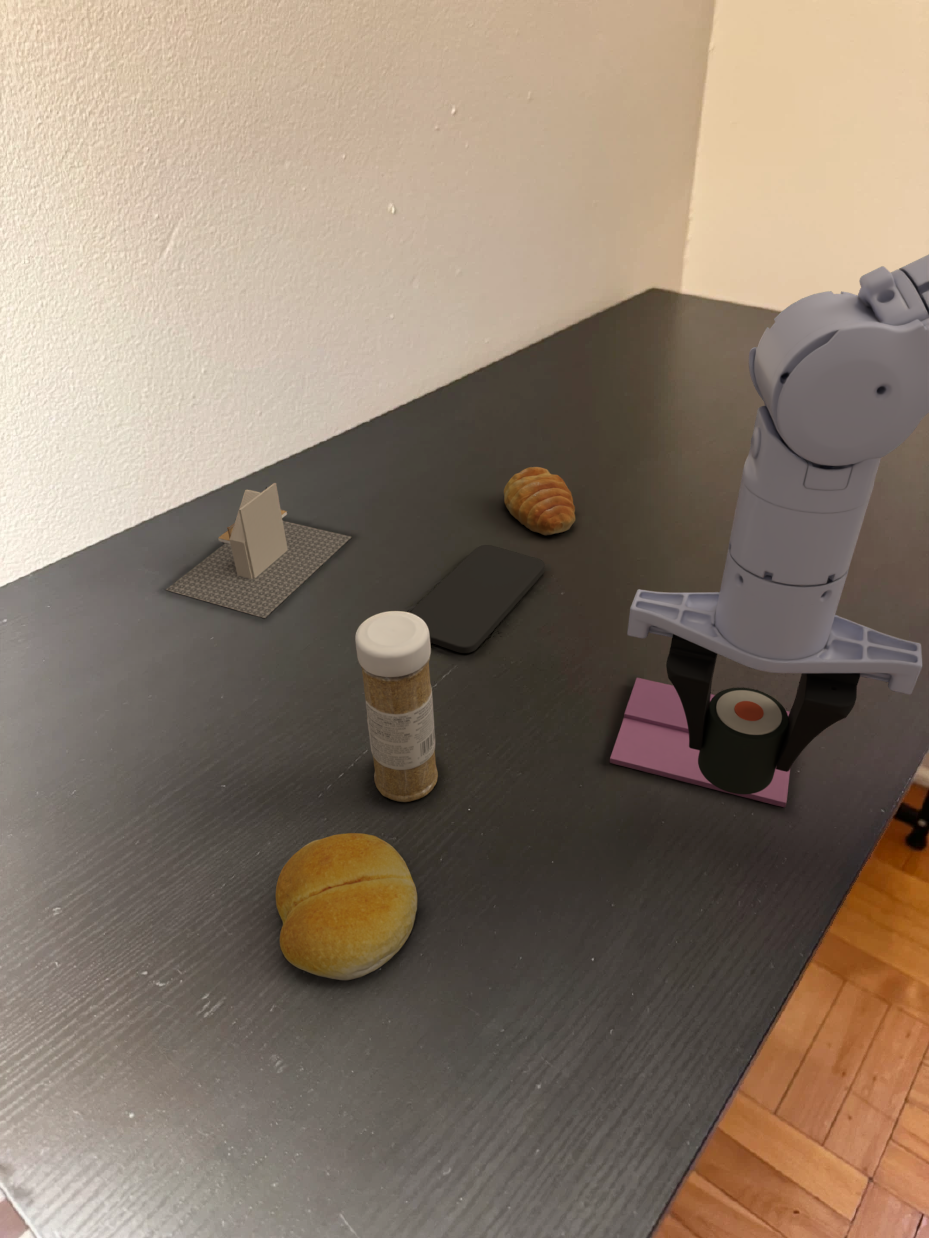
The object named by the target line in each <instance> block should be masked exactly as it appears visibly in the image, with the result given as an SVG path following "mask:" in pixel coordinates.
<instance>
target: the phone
mask: <svg viewBox="0 0 929 1238" xmlns="http://www.w3.org/2000/svg"><path fill="white" fill-rule="evenodd" d="M545 568H546V563H545V562H544V560H542V559H540V558H538V557H534V556H531V555H527V554H523V553H520V552H517V551H514V550H510V549H507V548H503V547H500V546H496V545H492V544H481V545H479V546H477V547H476V548H474V549H473V550H472V551H471V552H470V553H469V554H468V555H467V556H466V557H465V558H464V559H463V560H462V561H461V562H460V563H459V564H458V565H457V566H456V567H454V569H453V570H452V571H450V572H449V574H448V575H447V576H446V577H445V578H444V579H442V580H441V581H440V582H439V583H438V584H437V585H436V586H434V588H433V589H432V590H431V591H430V592H429V593H428V594H427V595H426V596H425V597H424V598H423V599H422V600H421V601H420V602H418V604H417V605H415V607H413V609H411V611H409V613H411V614H414V615H416V616H418V617H420V618H421V619H422V620H423V621H424V622H425V623H426V625H427V626H428V629H429V636H430V644H433V645H437V646H439V647H442V648H444V649H446V650H447V649H448V650H450V651H453V652H456V653H460V654H469V653H472V652H474V651H476V650H477V649H478V648H479V647H480V646H481V645H482V644H483V643H484V642H485V640H486V639H487V638H489V636H490V635H491V633H493V631H494V630H495V629H496V628H497V627H498V626H499V624H500V623H501V622H502V621H503V620H504V619H505V617H507V615H508V614H509V613H510V612H511V611H512V610H513V608H515V606H516V605H517V604H518V603H519V602H520V601H521V599H523V597H524V596H525V595H526V594H528V592H529V591H530V590H531V588H532V587H533V586H534V585H535V583H537V581H538V580H539V579H540V578H541V577H542V576H543V574H544V572H545V570H546V569H545Z"/></svg>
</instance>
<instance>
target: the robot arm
mask: <svg viewBox="0 0 929 1238" xmlns="http://www.w3.org/2000/svg"><path fill="white" fill-rule="evenodd" d="M858 282H859V286H860V288H859V290H858V293H857V294H855V293H853V292H848V291H840V293H834V292H833V291H832V290H830V291H829V290H828V291H821V292H818V293H813V294H809V295H807V296H804V297H802V298H800V299H799V300H796V301H794V302H792V303H791V304H790V305H788V306H787V307H786V308H784V309H783V310H782V311H781V312H779V313H778V314H777V315H776V316H775V317H774V318H773V321H774V323H773V324H772V325H771V327H768V326H767V327H766V328H765V330H764V331H763V333H762V335H761V337H760V339H759V341H758V343H757V346H754V347H752V348H751V349H750V350H749V353H748V371H749V376H750V379H751V382H752V384H753V387H754V389H755V391H756V393H757V394H758V396H759V397H760V399H761V401H762V402H763V404H764V405H761V406H760V407H758V408H757V411H756V416H755V421H754V424H753V425H754V426H753V431H752V435H751V438H750V446H749V452H748V454H747V457H746V459H745V462H744V465H743V468H742V473H741V479H740V485H739V489H738V490H739V491H738V493H737V494H738V495H737V498H736V499H737V500H736V504H735V510H734V516H733V521H732V526H731V531H730V535H729V541H728V549H727V551H726V552H727V553H726V558H725V563H724V568H723V573H722V579H721V584H720V588H719V592H718V591H715V592H713V591H712V592H711V591H710V592H704V591H703V592H663V591H653V590H646V589H640V588H639V589H637V590H636V592H635V595H634V598H633V600H632V603H631V605H630V607H629V615H628V623H627V632H626V635H627V636H629V637H633V638H637V639H646V638H648V636H649V634H653V635H659V636H663V637H667V638H671V641H670V647H669V651H668V655H667V659H666V662H665V663H666V664H665V667H666V674H667V678H668V680H669V681H670V683H671V685H672V686H674V688H675V689H676V691H677V693H678V695H679V698H680V700H681V703H682V705H683V708H684V712H685V716H686V720H687V725H688V731H689V747H690V748H691V749H695V750H699V751H701V746H702V742H703V737H704V731H705V723H706V717H707V712H708V707H709V703H710V696H711V694H712V685H713V678H714V673H715V669H716V664H717V659H718V655H719V656H721V657H723V658H726V659H728V660H731V661H733V662H735V663H737V664H739V665H741V666H743V667H747V668H750V669H753V670H756V671H760V672H765V673H771V674H801V675H800V678H799V682H798V686H797V690H796V694H795V697H794V700H793V704H792V706H791V709H790V711H789V712H790V713H789V716H788V718H789V723H788V727H787V731H786V734H785V738H784V741H783V744H782V747H781V750H780V754H779V757H778V761H777V765H776V769H777V770H781V771H785V772H788V771H789V770H790V771H791V768H792V766H793V765H794V763H795V761H796V760H797V759H798V757H799V756H800V754H801V753H802V752H803V751H804V750H805V749H806V748H807V747H808V745H810V743H811V742H812V741H813V740H814V739H815V738H817V737H818V736H819V735H820V734H821V733H823V732H824V731H825V730H827V729H828V728H829V727H831V726H833V725H834V724H836V723H838V722H840V721H841V720H844V719H846V718H847V717H848V716H849V714H850V713H851V712H852V710H853V709H854V706H855V704H856V701H857V699H858V697H857V695H858V684H859V681H860V678H865V679H870V680H875V681H880V682H885V683H887V687H888V689H889V690H890V691H892V692H895V693H900V694H905V695H910V696H911V695H912V694H913V691H914V689H915V686H916V684H917V681H918V679H919V676H920V674H921V672H922V669H923V654H922V653H923V652H922V644H921V642H916V641H912V640H906V639H903V638H901V637H896V636H893V635H889V634H887V633H884V632H881V631H878V630H876V629H873V628H870V627H868V626H865V625H863V624H860V623H858V622H855V621H853V620H850V619H847V618H845V617H843V616H840V615H837V611H838V608H839V604H840V600H841V597H842V593H843V590H844V587H845V583H846V581H847V577H848V574H849V570H850V566H851V562H852V559H853V556H854V553H855V550H856V547H857V546H856V545H857V543H858V540H859V537H860V533H861V529H862V527H863V523H864V519H865V517H866V513H867V509H868V507H869V503H870V500H871V497H872V495H873V490H874V487H875V481H876V477H877V474H878V470H879V467H880V465H881V464H880V463H881V460H882V459H883V458H884V457H886V456H888V455H889V454H891V453H892V452H893V451H895V450H897V448H899V447H900V446H901V445H902V444H903V443H904V442H905V441H907V439H909V437H910V436H912V434H913V433H914V431H915V430H916V429H917V427H918V426H919V425H920V423H921V422H922V420H923V419H924V418H925V417H926V416H927V415H928V414H929V253H928V254H925V256H922V257H920V258H918V259H916V260H914V261H911V262H910V263H908V264H906V265H904V266H902V267H900V268H899V267H898V269H894V270H893V271H890V270H889V269H888V268H887V267H885V266H883V265H882V266H879V267H877V268H875V269H873V270H871V271H868V272H867V273H865V274H863V275H861V276H860V278H859V281H858Z"/></svg>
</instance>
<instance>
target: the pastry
mask: <svg viewBox="0 0 929 1238" xmlns="http://www.w3.org/2000/svg"><path fill="white" fill-rule="evenodd" d="M572 495H573V494H572V492H571V490H570V489H569V488H568V486H567V484H566V482H565V480H564V479H563V478H562V477H561V476H560V475H558V474H553V473H550V471H549V470H548V469H547V468H544V467H539V466H533V467H532V466H530V467H527V468H526V467H525V468H524V469H522V470H521V471H520V472H518V473H515V474H514V475H512V476H511V478H509V481H508V482H506V484H505V486H504V489H503V496H504V499H503V501H504V505H505V507H506V509H507V510H508V511H509V514H510V515H511V516H512V517H513V518H514V519H516V520H517V521H518V522H519V523H520V524H521V525H524V526H525V528H527V529H529V531H532V532H534V533H539V534H541V535H543V536H552V535H554V534H559V533H563V532H566V531H568V530H570V529H571V527H572V525H573V524H574V523H575V522H576V514H575V512H576V506H575V505H574V498H573V496H572Z"/></svg>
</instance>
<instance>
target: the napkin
mask: <svg viewBox="0 0 929 1238" xmlns="http://www.w3.org/2000/svg"><path fill="white" fill-rule="evenodd" d="M630 693H631V694H630V696H629V699H628V701H627V705H626V708H625V711H624V714H623V718H622V722H621V725H620V728H619V731H618V733H617V736H616V739H615V742H614V745H613V747H612V750H611V751H612V752H611V754H610V757H609V764H613V765H617V766H621V767H625V768H629V769H633V770H637V771H640V772H645V773H649V774H652V775H656V776H659V777H660V776H661V777H664V778H667V779H671V780H676V781H679V782H684V783H687V784H691V785H695V786H699V787H702V788H706V789H711V790H714V791H719V792H723V793H727V794H730V795H734V796H738V797H742V798H745V799H749V800H753V801H756V802H757V801H758V802H761V803H766V804H769V805H772V806H777V807H781V808H786V807H787V801H788V792H789V783H790V775H791V769H790V770H789V771H788V772H785V771H781V770H777V769H775V773H774V776H773V779H772V781H771V783H770V784H769V785H768V786H767V787H766V788H765V789H763V790H762V791H760V792H757V793H753V794H734V793H730V792H727V791H724V790H721V789H719V788H718V787H716V786H714V785H713V784H711V783H710V782H709V781H708V780H707V779H706V778H705V777H704V776H703V774H702V773H701V771H700V768H699V765H698V756H699V750H695V749H691V748H690V747H689V731H688V725H687V720H686V716H685V712H684V708H683V705H682V703H681V700H680V698H679V695H678V693H677V691H676V689H675V688H674V686H673V684H667V683H663V682H659V681H654V680H650V679H646V678H640V677H636V678H635V681H634V683H633V687H632V690H631V692H630ZM715 695H716V694H712V693H711V696H710V701H711V699H712V698H713V697H714V696H715ZM786 712H787V714H788V716H789V713H790V711H789V710H786Z"/></svg>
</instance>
